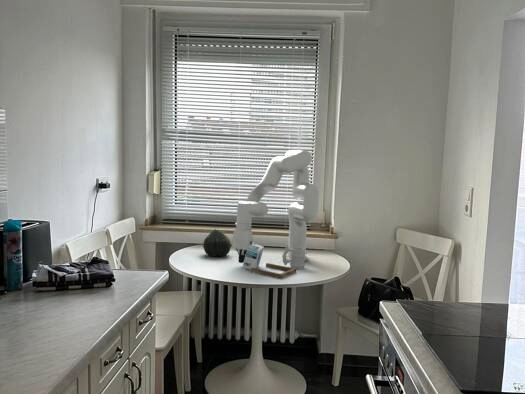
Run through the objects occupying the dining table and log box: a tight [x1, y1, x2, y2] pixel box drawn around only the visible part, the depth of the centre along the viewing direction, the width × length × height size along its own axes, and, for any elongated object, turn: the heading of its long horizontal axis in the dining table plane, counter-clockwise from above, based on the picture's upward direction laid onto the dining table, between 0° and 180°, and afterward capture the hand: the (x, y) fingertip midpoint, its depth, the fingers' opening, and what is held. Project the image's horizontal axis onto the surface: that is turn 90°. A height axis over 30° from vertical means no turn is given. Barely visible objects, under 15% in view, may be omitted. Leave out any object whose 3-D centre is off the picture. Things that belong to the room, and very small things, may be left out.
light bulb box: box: [242, 242, 265, 271], centre depth 225 cm, size 11×7×11 cm, turn 169°
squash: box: [202, 228, 232, 258], centre depth 250 cm, size 14×15×15 cm
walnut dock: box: [250, 262, 298, 280], centre depth 219 cm, size 14×17×2 cm
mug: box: [281, 243, 306, 270], centre depth 229 cm, size 8×12×12 cm, turn 94°
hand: (241, 262), depth 228 cm, fingers closed
